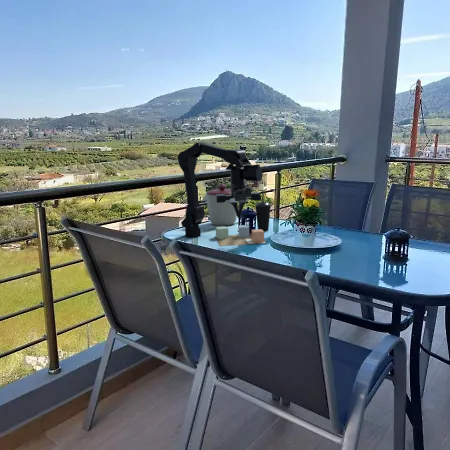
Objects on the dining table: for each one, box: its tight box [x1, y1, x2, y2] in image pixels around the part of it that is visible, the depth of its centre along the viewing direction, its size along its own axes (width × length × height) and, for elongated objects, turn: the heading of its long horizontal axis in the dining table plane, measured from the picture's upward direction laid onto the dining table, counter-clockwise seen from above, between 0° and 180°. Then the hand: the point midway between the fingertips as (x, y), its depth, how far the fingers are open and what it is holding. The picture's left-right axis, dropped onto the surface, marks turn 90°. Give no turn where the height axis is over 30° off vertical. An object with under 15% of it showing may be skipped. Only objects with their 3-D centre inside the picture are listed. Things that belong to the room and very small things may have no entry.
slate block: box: [238, 224, 250, 238], centre depth 183 cm, size 4×4×4 cm
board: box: [214, 233, 267, 247], centre depth 178 cm, size 20×17×1 cm
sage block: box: [215, 226, 229, 239], centre depth 181 cm, size 4×4×4 cm
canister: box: [204, 183, 239, 227], centre depth 212 cm, size 18×18×21 cm
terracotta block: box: [251, 228, 265, 242], centre depth 174 cm, size 4×4×4 cm
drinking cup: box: [254, 190, 272, 232], centre depth 191 cm, size 8×8×20 cm
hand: (238, 217), depth 171 cm, fingers closed
